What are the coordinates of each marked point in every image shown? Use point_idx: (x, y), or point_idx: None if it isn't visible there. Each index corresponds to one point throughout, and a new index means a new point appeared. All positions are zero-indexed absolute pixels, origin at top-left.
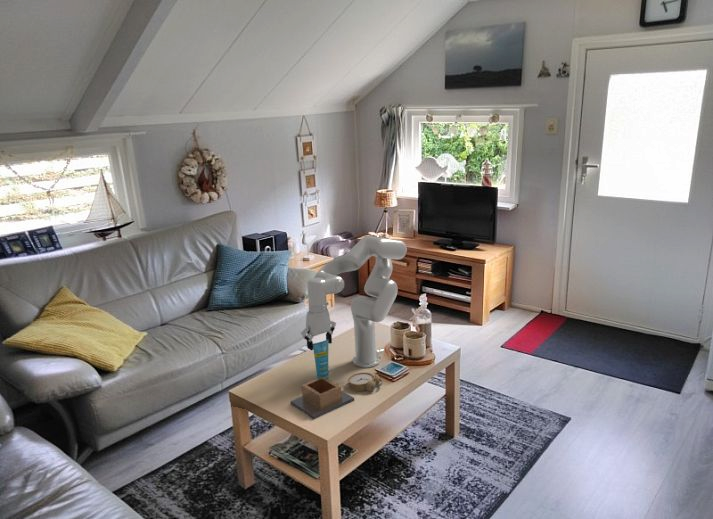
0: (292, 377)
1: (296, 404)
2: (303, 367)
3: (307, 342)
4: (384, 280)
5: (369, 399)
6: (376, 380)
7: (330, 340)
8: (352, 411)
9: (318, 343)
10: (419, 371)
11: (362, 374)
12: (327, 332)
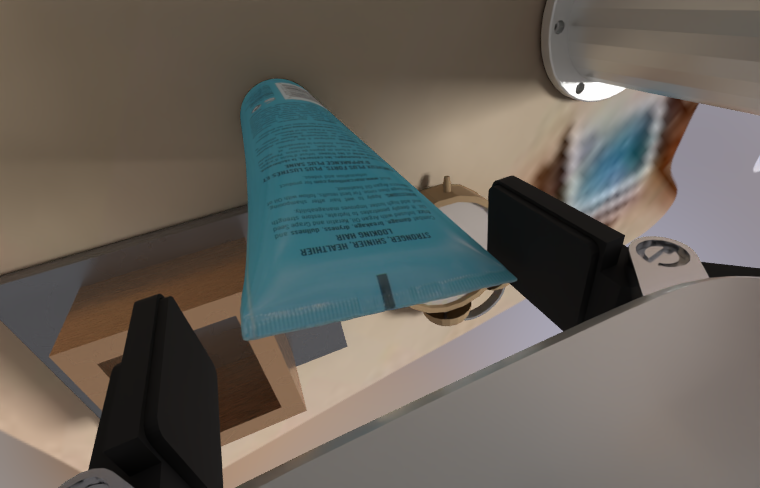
0: None
1: (23, 336)
2: None
3: (106, 467)
4: None
5: (395, 343)
6: (487, 289)
7: (520, 285)
8: None
9: (351, 295)
10: (636, 230)
11: (482, 212)
12: (623, 294)
